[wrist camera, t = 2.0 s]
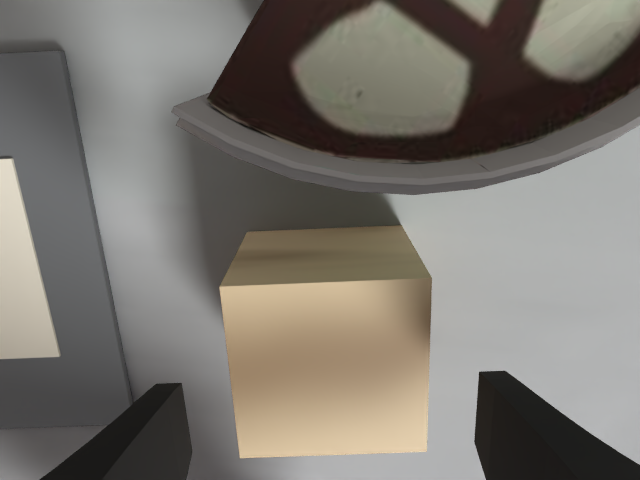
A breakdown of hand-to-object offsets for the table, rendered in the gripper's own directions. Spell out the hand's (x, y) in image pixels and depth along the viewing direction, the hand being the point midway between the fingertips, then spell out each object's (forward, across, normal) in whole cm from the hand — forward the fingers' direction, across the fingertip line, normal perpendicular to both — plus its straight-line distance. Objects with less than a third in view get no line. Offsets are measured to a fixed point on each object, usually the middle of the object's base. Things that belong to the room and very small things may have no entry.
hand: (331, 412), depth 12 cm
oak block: (+7, 0, 0) cm, 7 cm away
